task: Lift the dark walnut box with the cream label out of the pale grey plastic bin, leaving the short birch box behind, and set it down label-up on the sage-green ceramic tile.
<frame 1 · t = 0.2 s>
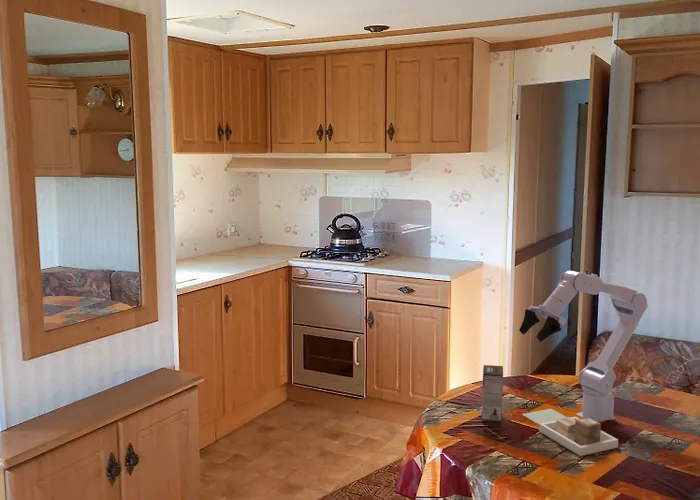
hand: (529, 335, 199), 31 cm above the table, tool tilted 45°, fingers open, 7 cm apart
coffee box: (491, 416, 216), on the table
labelled box: (586, 444, 194), point 1 cm above the table, touching bin
tile: (548, 420, 213), on the table
plain box: (568, 433, 201), point 1 cm above the table, touching bin
bin: (577, 440, 198), on the table
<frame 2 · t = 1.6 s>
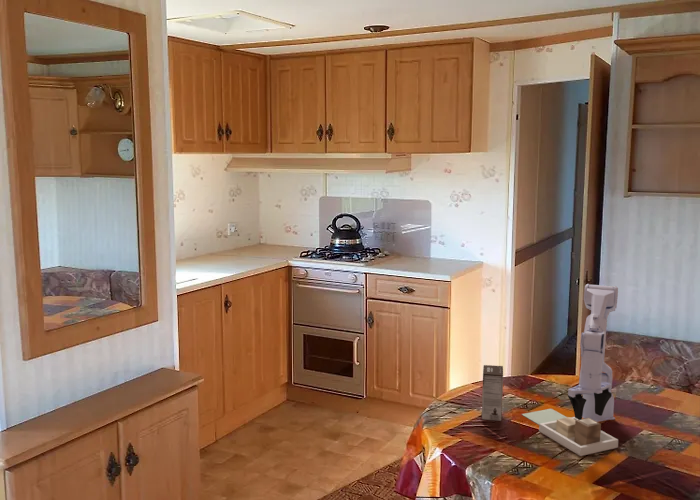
hand: (588, 416, 193), 9 cm above the table, tool pointing down, fingers open, 7 cm apart
nothing on the table moved.
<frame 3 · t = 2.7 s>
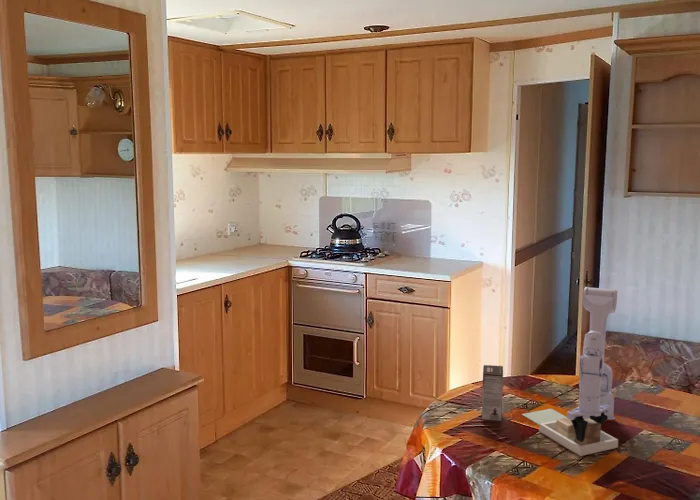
hand: (587, 438, 194), 2 cm above the table, tool pointing down, fingers closed on labelled box, 5 cm apart
labelled box: (586, 444, 194), point 1 cm above the table, touching bin, gripper
everything else where it was.
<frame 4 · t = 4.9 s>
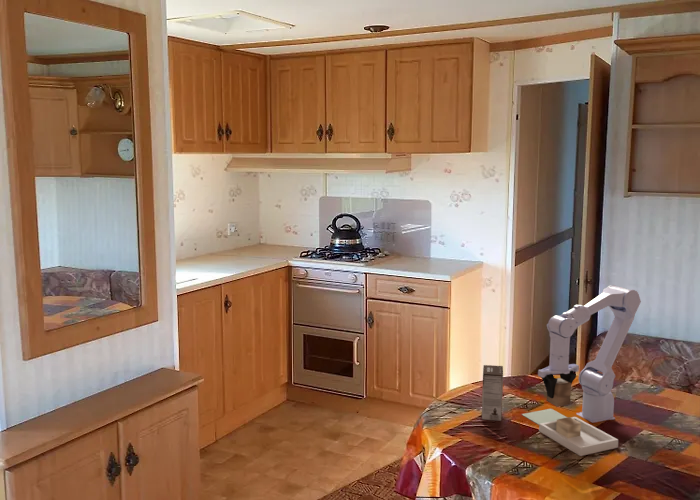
hand: (557, 395, 207), 10 cm above the table, tool pointing down, fingers closed on labelled box, 5 cm apart
labelled box: (558, 402, 207), point 8 cm above the table, touching gripper
everything else where it was.
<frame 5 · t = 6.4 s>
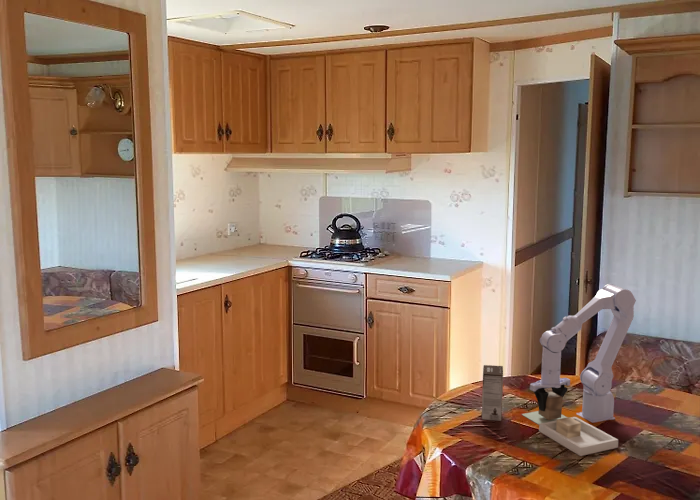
hand: (548, 408, 212), 4 cm above the table, tool pointing down, fingers closed on labelled box, 5 cm apart
labelled box: (549, 415, 212), point 2 cm above the table, touching gripper
everything else where it was.
when the fingers open (4 cm above the table, at t = 7.3 s): labelled box stays where it is, resting on tile.
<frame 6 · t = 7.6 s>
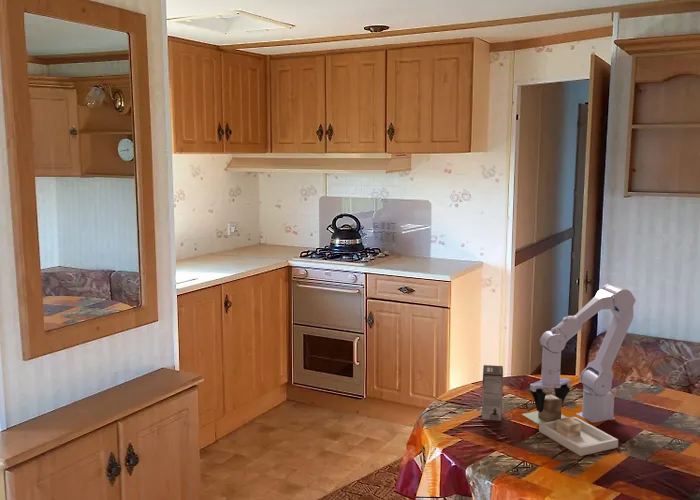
hand: (548, 409, 212), 4 cm above the table, tool pointing down, fingers open, 7 cm apart
labelled box: (549, 418, 212), point 1 cm above the table, touching tile
everything else where it was.
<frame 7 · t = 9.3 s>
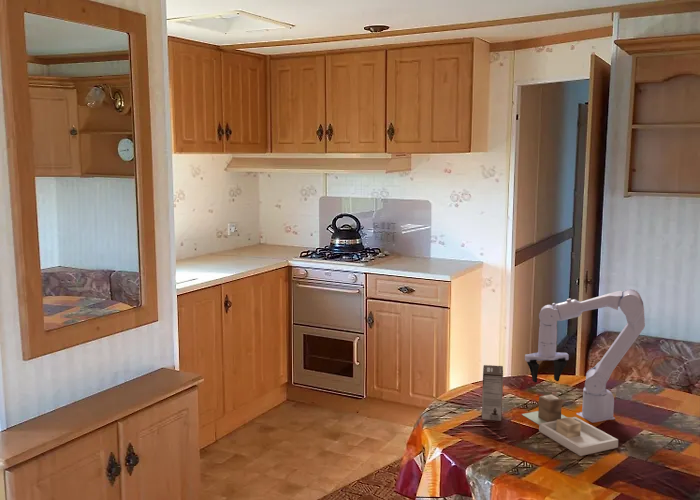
hand: (545, 381, 219), 10 cm above the table, tool pointing down, fingers open, 7 cm apart
nothing on the table moved.
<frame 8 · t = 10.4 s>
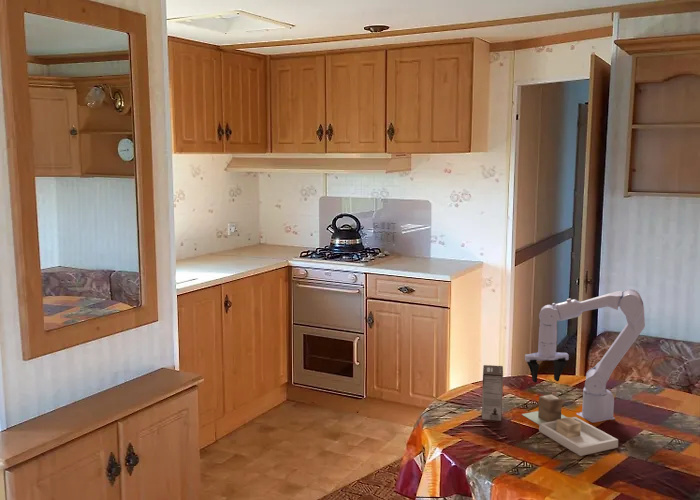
hand: (545, 381, 219), 10 cm above the table, tool pointing down, fingers open, 7 cm apart
nothing on the table moved.
at the end: labelled box inside the target area on the tile (0.5 cm from its centre), point 0.8 cm above the tile's base; labelled box tilted 0°; the gripper is holding nothing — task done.
